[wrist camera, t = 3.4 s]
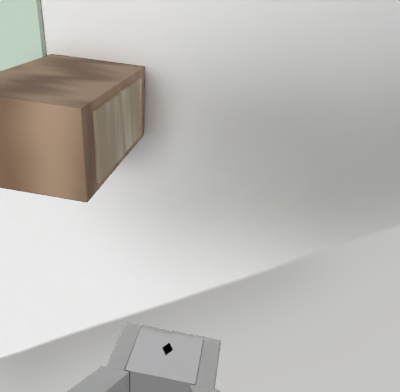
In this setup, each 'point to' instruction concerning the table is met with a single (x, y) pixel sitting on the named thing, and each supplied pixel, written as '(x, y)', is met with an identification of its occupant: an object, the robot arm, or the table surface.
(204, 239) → the table surface
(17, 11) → the green glass pane
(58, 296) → the table surface
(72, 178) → the walnut block
